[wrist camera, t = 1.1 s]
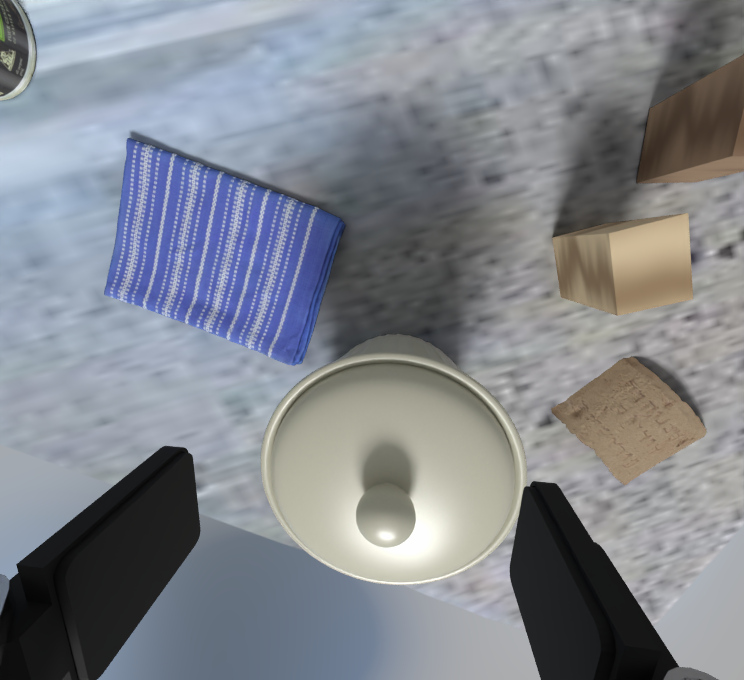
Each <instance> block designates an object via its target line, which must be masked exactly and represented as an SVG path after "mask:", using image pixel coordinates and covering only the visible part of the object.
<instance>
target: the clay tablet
mask: <svg viewBox="0 0 744 680" xmlns="http://www.w3.org/2000/svg"><path fill="white" fill-rule="evenodd" d="M552 413H553V414H554V415H555V416H556V417H557V418H558V419H559V420H561V422H562V423H564V424H566V427H567V428H568V429H569V431H570V432H571V433H572V434H576V436H577V438H578V439H579V440H580V441H581V442H582V443H584V444H585V445H586V446H589V447H590V448H592V449H594V450H595V453H596V455H597V456H599V457H600V458H601V459H602V461H603V463H604V464H605V465H606V466H607V467H609V471H610V472H612V473H613V476H615V478H616V479H618V480H620V481H621V483H623V484H624V485H627V484H628V483H629V482H630V481H631V480H633V479H634V478H636V477H638V476H639V475H640V474H642V473H644V472H645V471H647V470H649V469H650V468H652V467H653V466H655V465H656V464H658V463H660V462H661V461H663V460H664V459H666V458H668V457H670V456H671V455H673V454H675V453H677V452H678V451H680V450H681V449H683V448H685V447H686V446H688V445H690V444H692V443H693V442H695V441H697V440H698V439H700V438H702V437H704V436H705V435H706V429H705V427H704V426H703V423H701V421H700V419H699V417H698V416H695V413H694V412H693V410H692V409H691V407H690V406H689V405H688V404H687V403H686V402H683V401H681V399H680V397H679V396H678V395H677V394H676V393H675V392H674V391H673V390H671V389H670V387H669V386H668V385H667V384H666V383H664V382H662V381H661V379H660V378H659V377H658V376H657V375H655V374H654V373H653V372H652V371H650V370H649V369H648V368H646V367H644V365H643V364H640V363H639V361H638V360H637V359H636V358H634V357H630V358H623V359H622V360H620V361H618V362H617V363H616V364H614V365H613V366H612V367H611V368H610V369H608V370H606V371H605V372H604V373H602V374H601V375H600V376H599V377H597V378H595V379H594V380H592V381H591V382H590V383H588V384H587V385H586V386H584V387H583V388H582V389H580V390H579V391H577V392H576V393H575V394H573V395H572V396H570V397H569V398H568V399H567V400H566V401H565V402H563V403H561V404H558V405H557V406H556V407H554V408H552Z"/></svg>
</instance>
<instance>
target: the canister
mask: <svg viewBox="0 0 744 680" xmlns="http://www.w3.org/2000/svg"><path fill="white" fill-rule="evenodd" d="M261 474H262V480H263V485H264V489H265V493H266V496H267V498H268V501H269V503H270V506H271V508H272V510H273V512H274V514H275V516H276V517H277V519H278V521H279V522H280V524H281V525H282V526H283V528H284V529H285V530H286V532H287V533H288V534H289V535H290V537H291V538H292V539H293V540H294V541H295V542H296V543H297V544H298V545H299V546H300V547H301V548H303V549H304V550H305V551H306V552H307V553H309V554H310V555H311V556H313V557H314V558H315V559H317V560H319V561H320V562H322V563H323V564H325V565H327V566H329V567H331V568H333V569H334V570H337V571H339V572H341V573H343V574H346V575H348V576H351V577H354V578H358V579H361V580H365V581H369V582H374V583H380V584H391V585H414V584H423V583H429V582H434V581H438V580H442V579H445V578H448V577H451V576H454V575H456V574H459V573H461V572H463V571H465V570H467V569H469V568H471V567H472V566H474V565H476V564H477V563H479V562H480V561H482V560H483V559H484V558H486V557H487V556H488V555H489V554H490V553H492V552H493V551H494V550H495V549H496V548H497V547H498V546H499V545H500V544H501V542H502V541H503V540H504V539H505V538H506V536H507V535H508V533H509V532H510V531H511V529H512V527H513V526H514V524H515V522H516V520H517V518H518V516H519V511H520V506H521V500H522V494H523V490H524V487H526V486H527V464H526V457H525V452H524V448H523V445H522V442H521V439H520V436H519V434H518V432H517V429H516V427H515V425H514V424H513V422H512V420H511V418H510V417H509V415H508V414H507V412H506V411H505V409H504V408H503V407H502V405H501V404H500V403H499V402H498V400H497V399H496V398H495V397H494V396H493V395H492V394H491V393H490V392H489V391H488V390H487V389H486V388H484V387H483V386H482V385H481V384H480V383H478V382H477V381H476V380H474V379H473V378H471V377H470V376H468V375H467V374H465V373H463V372H462V371H461V370H460V369H459V368H458V367H457V365H456V364H455V363H454V362H453V361H452V360H451V359H450V358H449V357H448V356H446V355H445V354H444V353H443V352H442V351H441V350H440V349H439V348H436V347H434V346H433V345H432V344H431V343H430V342H425V341H423V340H422V339H421V338H415V337H412V336H410V335H401V334H396V335H391V334H387V335H385V336H377V337H375V338H373V339H368V340H366V341H365V342H363V343H362V344H358V345H357V346H355V347H354V348H352V349H351V350H350V351H348V352H347V353H346V354H345V355H343V356H342V357H341V358H339V359H338V360H336V361H334V362H331V363H329V364H327V365H325V366H323V367H321V368H319V369H317V370H315V371H314V372H312V373H311V374H309V375H308V376H306V377H305V378H303V379H302V380H301V381H300V382H299V383H297V384H296V385H295V386H294V387H293V388H292V389H291V390H290V391H289V392H288V393H287V395H286V396H285V397H284V398H283V399H282V401H281V402H280V403H279V405H278V406H277V408H276V410H275V411H274V413H273V415H272V417H271V419H270V421H269V423H268V426H267V428H266V431H265V435H264V439H263V443H262V450H261Z"/></svg>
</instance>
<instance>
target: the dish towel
mask: <svg viewBox="0 0 744 680" xmlns="http://www.w3.org/2000/svg"><path fill="white" fill-rule="evenodd" d="M344 228H345V224H344V222H342V220H341V219H340V218H338V217H336V216H334V215H332V214H330V213H327V212H325V211H323V210H321V209H319V208H318V207H315V206H312V205H309V204H306V203H303V202H300V201H298V200H296V199H295V198H291V197H288V196H286V195H284V194H280V193H277V192H274V191H272V190H270V189H266V188H263V187H260V186H258V185H255V184H253V183H250V182H248V181H245V180H242V179H239V178H237V177H234V176H231V175H228V174H226V173H225V172H222V171H218V170H215V169H212V168H210V167H207V166H205V165H203V164H201V163H197V162H194V161H192V160H190V159H186V158H184V157H181V156H179V155H177V154H174V153H170V152H167V151H165V150H162V149H159V148H157V147H154V146H152V145H148V144H144V143H142V142H139V141H135V140H133V139H131V138H128V139H127V157H126V162H125V168H124V177H123V186H122V194H121V201H120V209H119V216H118V223H117V234H116V240H115V247H114V252H113V256H112V260H111V264H110V269H109V274H108V279H107V284H106V287H105V291H104V295H106V296H109V297H112V298H116V299H118V300H120V301H122V302H127V303H131V304H133V305H138V306H141V307H143V308H145V309H148V310H151V311H154V312H156V313H159V314H162V315H164V316H166V317H169V318H172V319H175V320H178V321H181V322H183V323H186V324H189V325H191V326H194V327H197V328H200V329H203V330H205V331H206V332H209V333H212V334H215V335H217V336H220V337H223V338H226V339H227V340H229V341H232V342H234V343H238V344H241V345H244V346H245V347H247V348H249V349H252V350H256V351H258V352H260V353H263V354H265V355H267V356H268V357H270V358H273V359H275V360H278V361H280V362H283V363H286V364H288V365H294V366H295V364H301V363H302V362H303V359H304V356H305V353H306V351H307V347H308V344H309V342H310V339H311V336H312V333H313V331H314V327H315V323H316V320H317V316H318V312H319V308H320V304H321V301H322V298H323V295H324V292H325V289H326V286H327V283H328V279H329V275H330V272H331V268H332V264H333V260H334V256H335V253H336V251H337V247H338V244H339V241H340V238H341V236H342V233H343V231H344Z"/></svg>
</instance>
